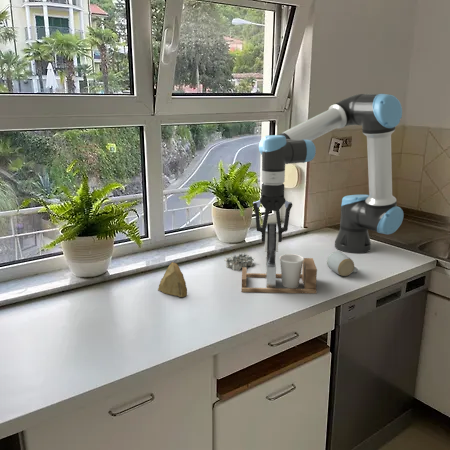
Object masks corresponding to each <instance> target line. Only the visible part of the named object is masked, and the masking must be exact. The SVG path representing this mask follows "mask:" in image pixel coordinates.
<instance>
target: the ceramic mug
mask: <svg viewBox="0 0 450 450" xmlns="http://www.w3.org/2000/svg"><path fill="white" fill-rule="evenodd" d="M326 259H327V260H326V266H327V268H328V269H330V271H332V272H334V273H336V274H338V275H339V276H342V277H347V276H350V275H351V274H352V273H355V274H356V273H358V271H359V268H357V267H356V266H355V263H354V260H353V259H352V258H350V257H349V256H348V255H346V254H345V253H343V251H341V250H334V251H333V252H331V253H330V254H329V255H328V257H327V258H326Z"/></svg>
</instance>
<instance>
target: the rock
mask: <svg viewBox="0 0 450 450" xmlns="http://www.w3.org/2000/svg"><path fill="white" fill-rule="evenodd" d="M157 290H158V291H160V292H161V293H163V294H165V295H170V296H176V297H179V298H184V297H187V296H188V287H187V283H186V280H185V276H184V274H183V272H182V270H181V268H180V266H179V265H178V263H176V262H175V261H174V262H173V261H172V262H171V263H170V264H169V266H168V267H167V268H166V270H165V272H164V274H163V276H162V278H161V280H160V282H159V285H158V288H157Z"/></svg>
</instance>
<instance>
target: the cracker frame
mask: <svg viewBox="0 0 450 450" xmlns="http://www.w3.org/2000/svg"><path fill="white" fill-rule="evenodd" d="M303 258H304V260H303V264H302V270H301V275H300V279H301V280H302V285H303V288H287V287H283V288H282V287H279V288H278V287H275V288H266V287H247V278H257V279H258V278H260V279H261V278H265V279H266V273H258V272H257V273H256V272H254V273H253V272H252V273H251V272H250V273H248V270H247V267H246V268H245V267H242V268H241V269H242V270H241V293H268V294H269V293H270V294H271V293H273V294H277V293H278V294H279V293H280V294H288V293H289V294H317V273H318V269H317V266H316V264H315V260H314V258H313V257H312V258H311V257H303ZM276 279H282V275H281V273H276Z"/></svg>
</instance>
